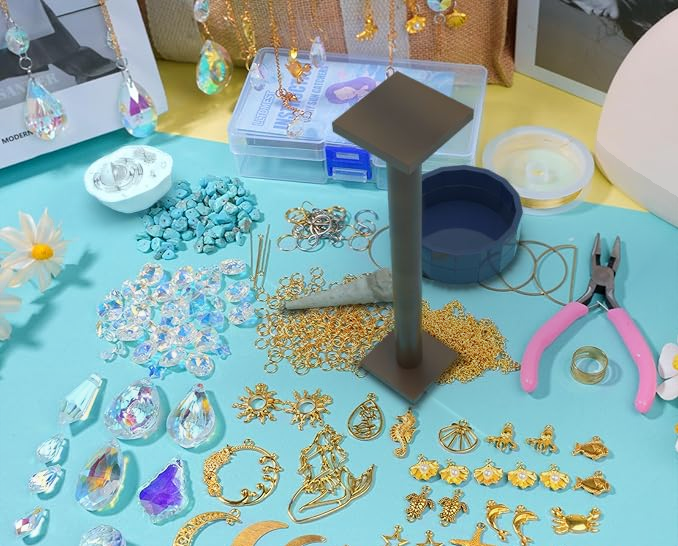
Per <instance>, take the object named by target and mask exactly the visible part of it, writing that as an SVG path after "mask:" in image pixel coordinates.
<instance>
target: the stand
mask: <svg viewBox="0 0 678 546" xmlns="http://www.w3.org/2000/svg"><path fill="white" fill-rule="evenodd" d="M474 114H475V109H474V108H472V107H470V106H469V105H467V104H465V103H463V102H460V101H458V100H456V99H454V98H453V97H451V96H448V95H446V94H445V93H442V92H440V91H439V90H436V89H435V88H432V87H431V86H428V85H426V84H424V83H423V82H421V81H419V80H417V79H414V78H412V77H410V76H409V75H406V74H405V73H403V72H400V71H399V70H396V71H395V72H394V73H392V74H391V75H390V76H389V77H387V78H386V79H384V80H383V81H382V82H381V83H379V84H378V85H377V86H375V87H374V88H373V89H372V90H371V91H369V92H368V93H367V94H366V95H365V96H363V97H362V98H361V99H359V100H358V101H357V102H356V103H354V104H353V105H352V106H350V107H349V108H348V109H346V110H345V111H344V112H343V113H342V114H341V115H339V116H338V117H336V118H335V119H333V121H332V122H331V128H332V133H333V134H336V135H337V136H339V137H341V138H342V139H344V140H346V141H348V142H350V143H351V144H353V145H355V146H357V147H358V148H361V149H362V150H364V151H365V152H367V153H369V154H371V155H373V156H374V157H376V158H378V159H380V160H381V161H383V162H385V169H386V189H387V210H388V211H387V212H388V228H389V230H388V231H389V246H390V247H389V248H390V249H389V250H390V270H391V271H392V289H393V301H392V307H393V324H394V327H393V329H392V330H391V331H389V333H388V334H387V335H386V336H385V337H384V338H383V339H382V340H381V341H380V342H379V343H378V344H377V345H376V346H375V347H373V349H372V350H371V351H370V352H368V353H367V354H366V356H364V357H363V359H361V360H360V361H359V365H360V367H361V368H362V369H364V370H365V371H366V372H368V373H369V374H370V375H371V376H373V377H374V378H375V379H377V380H379V381H380V382H381V383H383V385H385V386H387V387H389V388H390V389H391V390H392V391H393V392H395V393H396V394H398V395H399V396H401V397H402V398H404V399H405V400H406V401H407V402H409V403H410V404H411V405H413V406H415V404H416V403H417V402H418V401H420V400H421V398H423V396H425V394H426V393H427V390H428V389H429V388H430V387H431V386H432V385H433V384H434V383H435V382H436V381H437V380H438V379H439V378H440V377H441V376H442V375H443V374H444V373H445V372H446V371H447V370H448V369H449V367H451V365H452V364H453V363H455V362H456V360H457V359H458V358H459V357H460V354H459V353H458V352H456V350H454V349H452V348H451V347H449V346H448V345H446V344H445V343H444V342H442V341H440V340H439V339H437V338H435V337H434V336H433V335H431V334H429V333H428V332H427V331H425V330H424V329H423V274H422V174H423V164H424V163H425V162H426V161H427V160H428V159H429V158H430V157H432V156H433V155H434V154H435V153H436V152H437V151H438V150H440V149H441V148H442V147H443V146H444V145H445V144H446V143H448V142H449V141H450V140H451V139H452V138H453V137H455V136H456V135H457V134H458V133H459V132H461V130H463V129H464V128H465V127H466V126H467V125H468V124H469V123H471V121H473V120H474V116H475V115H474Z"/></svg>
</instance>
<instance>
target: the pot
mask: <svg viewBox="0 0 678 546" xmlns="http://www.w3.org/2000/svg"><path fill="white" fill-rule="evenodd" d="M523 215H524V210H523V205H522V201H521V196H520V194H519V192H518V191H517V190H516V188H515V187H514V186H513V185H512V184H511V183H510V182H509V181H508V179H506V177H503V176H501V175H499V174H498V173H496V172H494V171H492V170H490V169H488V168H485V167H480V166H475V165H474V166H473V165H470V164H469V165H468V164H458V165H446V166H439V167H438V168H435V169H433V170H430V171H428V172H425V173H422V276H423V275H424V276H425V277H427V278H429V279H430V280H433V281H437V282H441V283H445V284H450V285H466V284H475V283H480V282H483V281H485V280H487V279H491V278H492V277H494V276H496V275H499V274H500V273H501V272H502V271H503V270H504V269H505V268H506V267H507V266H508V265H509V264H510V263H511V262H512V261H514V259H515V255H516V253H517V249H518V246H519V243H520V237H521V229H522V222H523Z"/></svg>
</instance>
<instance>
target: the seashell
mask: <svg viewBox="0 0 678 546" xmlns="http://www.w3.org/2000/svg"><path fill="white" fill-rule="evenodd" d="M383 302H385V303H391V302H392V303H393V289H392V269H391V268H389V267H384V268H381V269H376V271H374V272H373V273H370V274H368V275H367V274H366V275H362V276H361V277H360V278H356V279H351V281H350V282H346V283H343V284H341V285H337V286H335V287H332V288H328V289H327V290H321V291H320V292H319V291H318V292H316V293H313V294H308V295H306V296H303V297H299V298H297V299H294V300H291V301H287V302H286V304H285V308H286V310H300V309H301V310H303V309H304V310H305V309H312V308H313V309H315V308H324V307H326V308H327V307H328V308H329V307H330V308H331V307H338V306H347V305H352V306H355V305H358V304H361V305H366V304H368V303H370V304H371V303H373V304H376V303H383Z"/></svg>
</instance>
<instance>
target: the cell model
mask: <svg viewBox="0 0 678 546" xmlns="http://www.w3.org/2000/svg"><path fill="white" fill-rule="evenodd" d="M172 173H173V158H172V156H171V155H170V154H168V153H167V152H165V151H163V150H160V149H158V148H156V147H154V146H150V145H125V146H122V147H120V148H118V149H117V150H115V151H113V152H111V153H109V154H107V155H105V156H103V157H101V158H98V159H97V160H95V161H94V162H93V163H91V164H90V166H88V167H87V169H86V170H85V172H84V174H83V183H84V186H85V189H86V191H87V192H88V193H89V194H90V195H92V196H93V197H94V198H95V199H96V200H98V201H99V202H100V203H101V204H102V205H104V206H106V207H108V208H110V209H112V210H114V211H116V212H120V213H124V214H133V213H137V212H140V211H144V210H147V209H148V208H150V207H152V206H153V205H155V203H157V202H158V201H159V200H160V199H162V198H163V197H164V196H165V195H166V194H167V193H168V192H169V191H170V190H171V188H172V186H173V185H172V183H173V179H172V177H173V176H172V175H173V174H172Z"/></svg>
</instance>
